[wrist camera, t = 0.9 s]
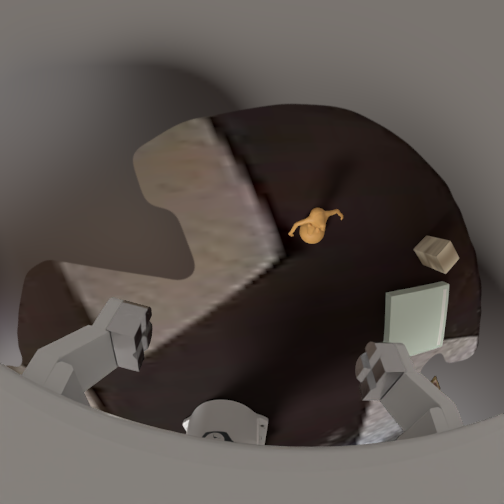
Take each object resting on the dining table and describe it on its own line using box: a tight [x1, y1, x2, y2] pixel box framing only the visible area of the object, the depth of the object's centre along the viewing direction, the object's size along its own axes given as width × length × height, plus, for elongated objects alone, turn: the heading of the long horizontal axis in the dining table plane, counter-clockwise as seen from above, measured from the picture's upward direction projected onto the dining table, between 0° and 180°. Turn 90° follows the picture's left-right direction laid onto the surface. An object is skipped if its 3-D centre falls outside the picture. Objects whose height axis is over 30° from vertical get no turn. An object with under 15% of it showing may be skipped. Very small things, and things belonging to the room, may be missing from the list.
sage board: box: [384, 281, 449, 356], centre depth 48 cm, size 14×14×3 cm
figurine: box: [289, 208, 343, 244], centre depth 41 cm, size 8×6×12 cm
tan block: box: [413, 235, 459, 274], centre depth 44 cm, size 4×4×8 cm
